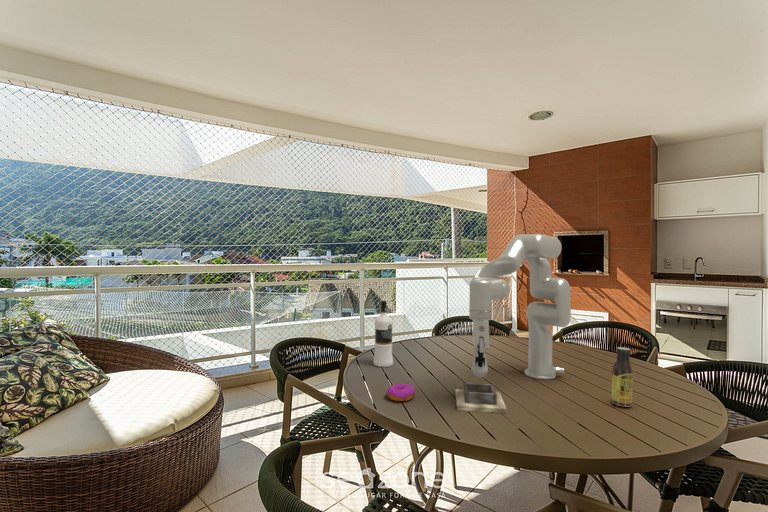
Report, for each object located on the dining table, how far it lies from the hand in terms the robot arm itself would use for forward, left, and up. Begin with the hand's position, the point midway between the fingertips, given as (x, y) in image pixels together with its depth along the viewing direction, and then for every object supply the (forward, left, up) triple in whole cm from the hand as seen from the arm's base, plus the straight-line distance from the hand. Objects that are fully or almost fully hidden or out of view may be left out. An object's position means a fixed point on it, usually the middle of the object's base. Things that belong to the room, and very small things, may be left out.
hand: (479, 366), depth 136 cm
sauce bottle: (-49, -6, -13) cm, 51 cm away
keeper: (0, 0, -13) cm, 13 cm away
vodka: (+40, -39, -13) cm, 57 cm away
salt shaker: (0, 0, -3) cm, 3 cm away
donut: (+28, 0, -13) cm, 31 cm away
